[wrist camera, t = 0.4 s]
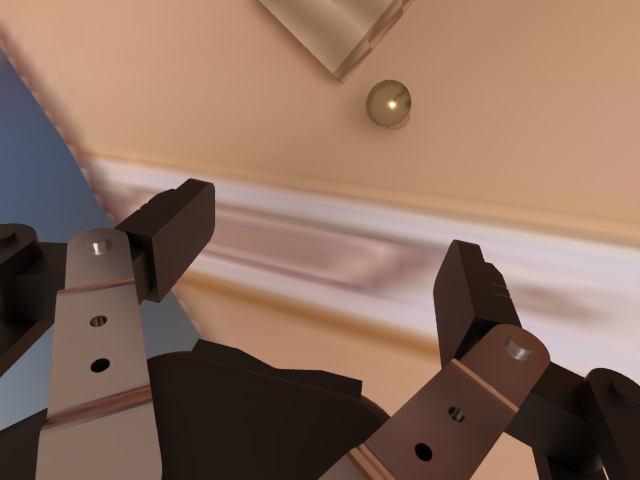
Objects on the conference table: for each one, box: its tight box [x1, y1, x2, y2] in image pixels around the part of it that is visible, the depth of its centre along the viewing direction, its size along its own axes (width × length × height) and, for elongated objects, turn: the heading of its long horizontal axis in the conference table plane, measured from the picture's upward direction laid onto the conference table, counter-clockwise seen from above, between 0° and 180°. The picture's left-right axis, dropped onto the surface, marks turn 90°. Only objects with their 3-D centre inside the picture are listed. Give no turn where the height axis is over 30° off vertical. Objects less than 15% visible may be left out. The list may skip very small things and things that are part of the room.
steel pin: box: [366, 80, 411, 129], centre depth 32 cm, size 3×3×10 cm
